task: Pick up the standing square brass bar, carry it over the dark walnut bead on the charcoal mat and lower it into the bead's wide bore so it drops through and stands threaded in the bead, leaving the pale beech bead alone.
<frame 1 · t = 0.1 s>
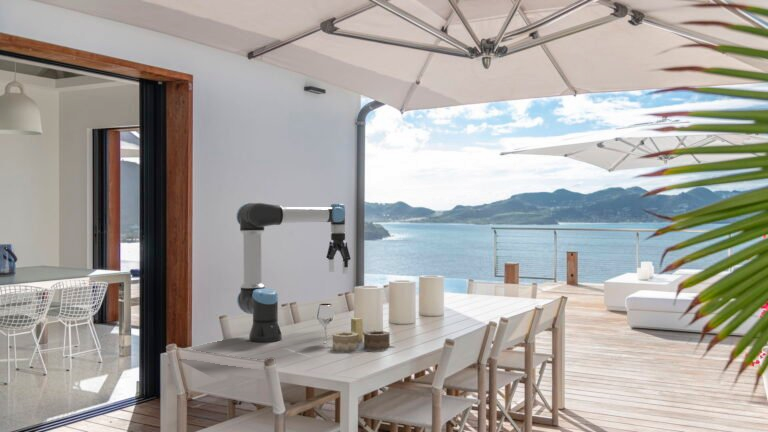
hand: (338, 272, 355), 28 cm above the table, fingers open, 13 cm apart
yellow peg: (356, 342, 306), on the table
walnut bead: (376, 346, 293), resting on mat
wineglass: (325, 344, 304), on the table
beech bead: (345, 347, 291), resting on mat
mat: (361, 348, 292), on the table
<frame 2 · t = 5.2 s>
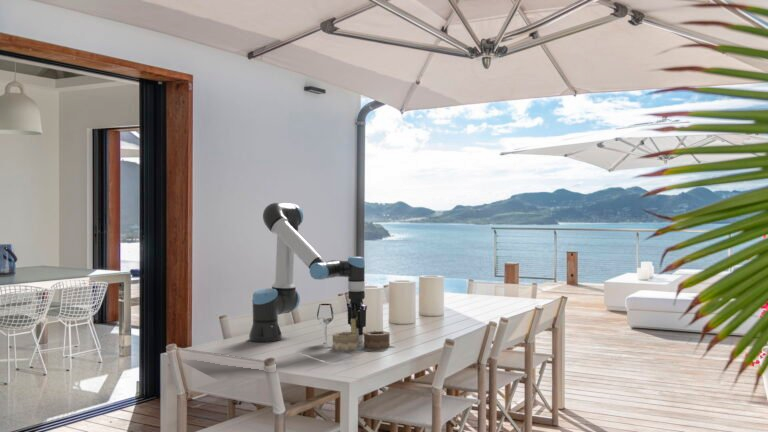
hand: (356, 341, 306), 1 cm above the table, fingers closed on yellow peg, 4 cm apart
yellow peg: (356, 342, 306), on the table, touching gripper
everything else where it was.
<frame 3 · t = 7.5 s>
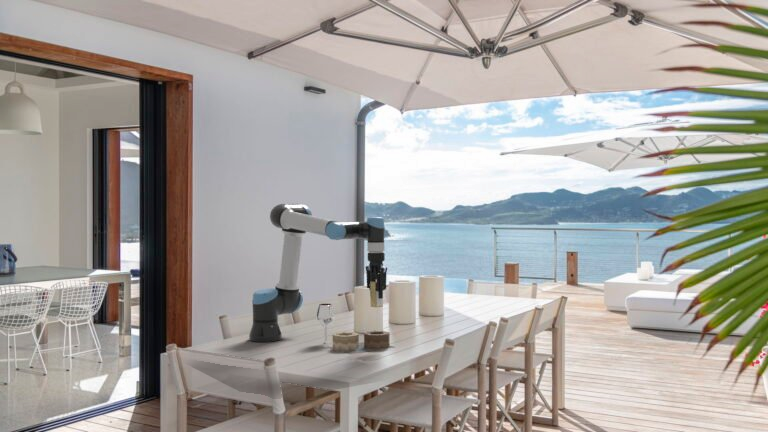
hand: (376, 305, 294), 19 cm above the table, fingers closed on yellow peg, 4 cm apart
yellow peg: (376, 306, 294), point 18 cm above the table, touching gripper
everything else where it was.
when the fingers open (8 cm above the table, at t = 10.3 s): yellow peg drops 6 cm, resting on mat.
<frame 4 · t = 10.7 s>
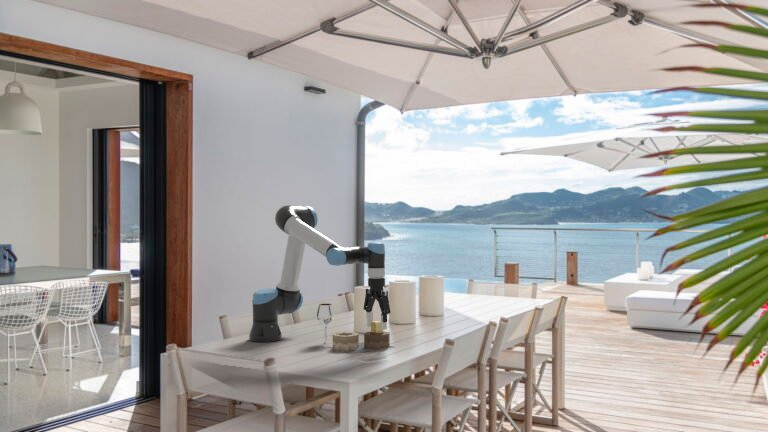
hand: (376, 328, 293), 9 cm above the table, fingers open, 10 cm apart
yellow peg: (377, 346, 293), point 1 cm above the table, touching mat
everything else where it was.
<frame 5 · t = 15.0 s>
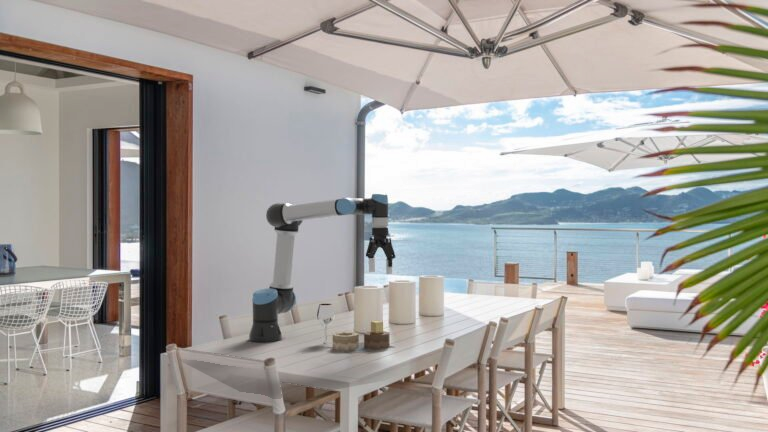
hand: (380, 273, 308), 32 cm above the table, fingers open, 13 cm apart
nothing on the table moved.
at the end: yellow peg 0.0 cm off-centre on the walnut bead, point 0.0 cm above the walnut bead's base; yellow peg tilted 0°; the gripper is holding nothing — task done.
